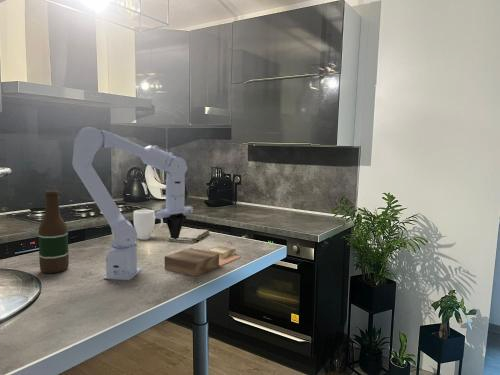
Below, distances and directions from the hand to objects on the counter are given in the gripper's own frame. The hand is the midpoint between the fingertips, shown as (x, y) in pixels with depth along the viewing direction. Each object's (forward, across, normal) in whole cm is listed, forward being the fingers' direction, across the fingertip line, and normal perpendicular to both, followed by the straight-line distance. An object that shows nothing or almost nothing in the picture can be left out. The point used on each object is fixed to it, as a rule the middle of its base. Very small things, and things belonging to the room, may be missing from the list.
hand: (174, 238), depth 114 cm
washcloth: (+10, +31, +22) cm, 39 cm away
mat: (+9, +15, -5) cm, 18 cm away
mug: (+10, +19, +33) cm, 40 cm away
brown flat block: (+9, +3, -5) cm, 11 cm away
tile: (+7, +19, -5) cm, 20 cm away
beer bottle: (+10, -23, +28) cm, 37 cm away
